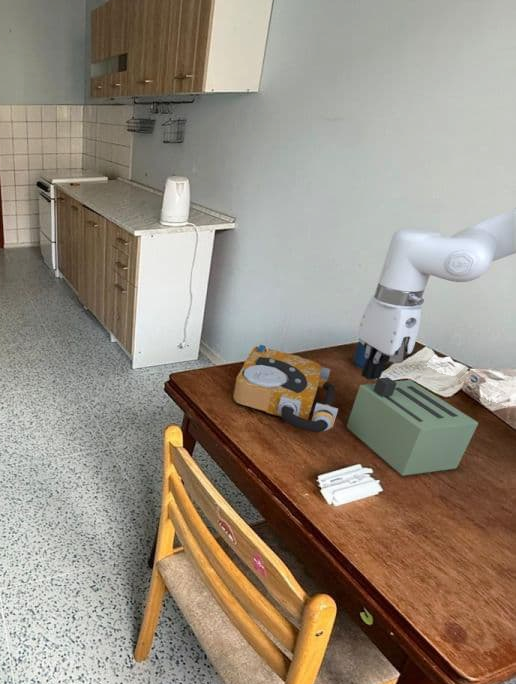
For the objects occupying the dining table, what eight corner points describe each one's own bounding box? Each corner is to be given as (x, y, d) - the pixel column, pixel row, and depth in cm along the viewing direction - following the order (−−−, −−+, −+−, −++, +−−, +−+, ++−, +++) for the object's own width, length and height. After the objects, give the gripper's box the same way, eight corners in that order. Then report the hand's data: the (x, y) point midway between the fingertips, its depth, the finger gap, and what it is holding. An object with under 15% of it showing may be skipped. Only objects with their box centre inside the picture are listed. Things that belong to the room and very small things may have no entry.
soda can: (375, 375, 125) (388, 334, 119) (347, 365, 129) (360, 325, 124) (385, 367, 128) (399, 326, 123) (359, 358, 133) (371, 318, 127)
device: (350, 357, 116) (336, 418, 94) (341, 386, 120) (326, 450, 98) (255, 337, 127) (223, 387, 105) (250, 364, 131) (218, 418, 109)
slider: (383, 389, 97) (388, 377, 96) (392, 395, 95) (397, 382, 94) (373, 390, 97) (377, 378, 96) (381, 396, 95) (386, 384, 94)
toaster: (394, 421, 106) (410, 379, 101) (456, 468, 92) (479, 422, 87) (346, 427, 105) (360, 384, 100) (402, 475, 91) (421, 429, 86)
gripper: (448, 307, 84) (414, 394, 93) (386, 281, 98) (361, 359, 106) (411, 310, 84) (380, 397, 92) (353, 283, 97) (331, 362, 105)
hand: (370, 376), depth 99 cm, fingers closed
